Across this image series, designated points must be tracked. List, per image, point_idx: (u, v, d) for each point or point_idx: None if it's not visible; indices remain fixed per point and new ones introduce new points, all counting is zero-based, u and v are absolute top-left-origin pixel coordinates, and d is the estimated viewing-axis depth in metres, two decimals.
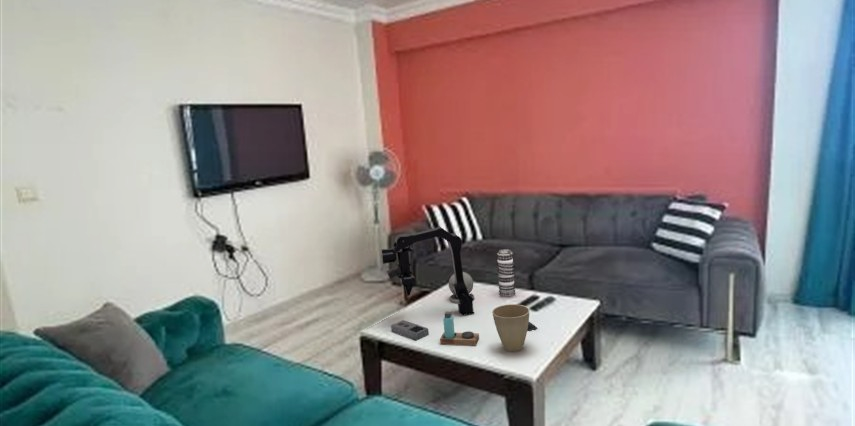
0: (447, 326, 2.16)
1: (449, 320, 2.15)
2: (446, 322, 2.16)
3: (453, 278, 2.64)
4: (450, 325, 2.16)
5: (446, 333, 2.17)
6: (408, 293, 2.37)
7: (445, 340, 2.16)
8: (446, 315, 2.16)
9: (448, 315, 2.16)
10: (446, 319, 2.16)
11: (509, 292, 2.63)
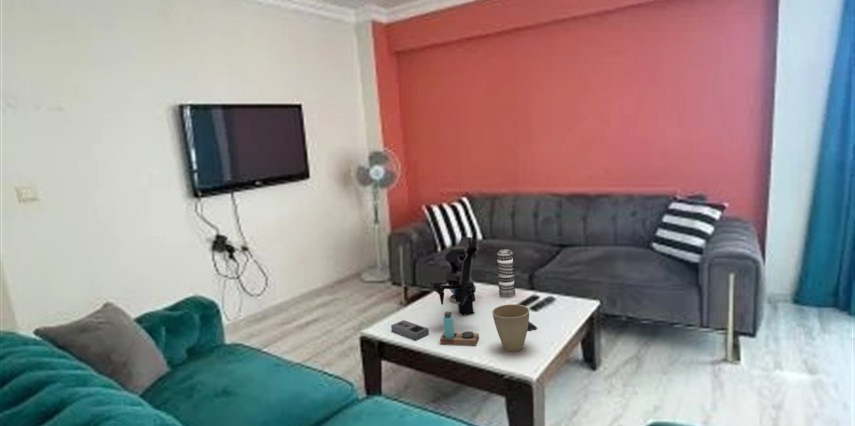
0: (447, 326, 2.16)
1: (449, 320, 2.15)
2: (446, 322, 2.16)
3: None
4: (450, 325, 2.16)
5: (446, 333, 2.17)
6: (463, 302, 2.24)
7: (445, 340, 2.16)
8: (446, 315, 2.16)
9: (448, 315, 2.16)
10: (446, 319, 2.16)
11: (509, 292, 2.63)
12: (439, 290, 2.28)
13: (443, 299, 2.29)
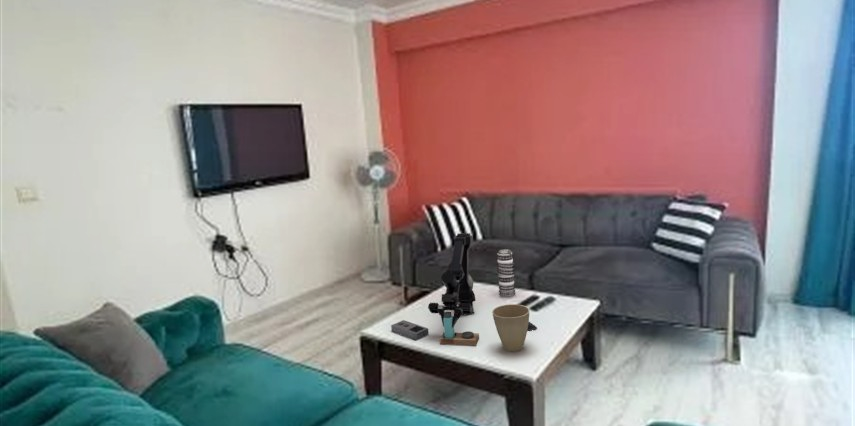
0: (447, 326, 2.16)
1: (449, 320, 2.15)
2: (446, 322, 2.16)
3: None
4: (450, 325, 2.16)
5: (446, 333, 2.17)
6: (454, 324, 2.16)
7: (445, 340, 2.16)
8: (446, 315, 2.16)
9: (448, 315, 2.16)
10: (446, 319, 2.16)
11: (509, 292, 2.63)
12: (441, 312, 2.19)
13: None
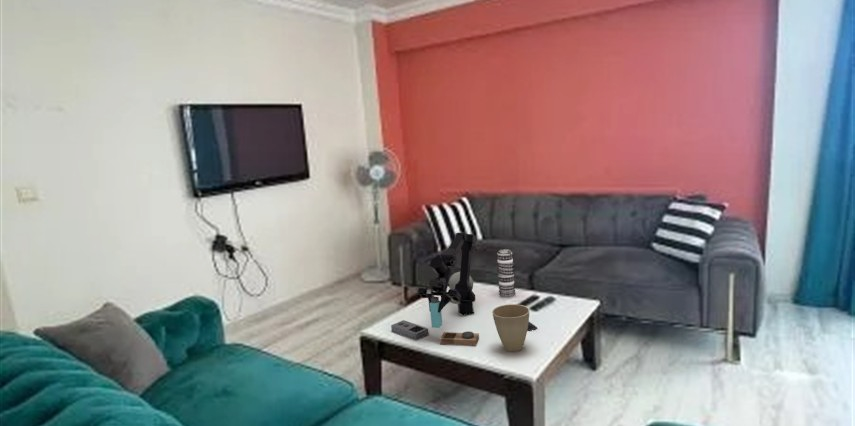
0: (433, 311, 2.17)
1: (435, 305, 2.16)
2: (433, 307, 2.17)
3: (453, 278, 2.64)
4: (436, 310, 2.17)
5: (432, 318, 2.18)
6: (440, 309, 2.17)
7: (445, 340, 2.16)
8: (432, 300, 2.17)
9: (434, 300, 2.17)
10: (432, 304, 2.17)
11: (509, 292, 2.63)
12: (429, 296, 2.20)
13: None
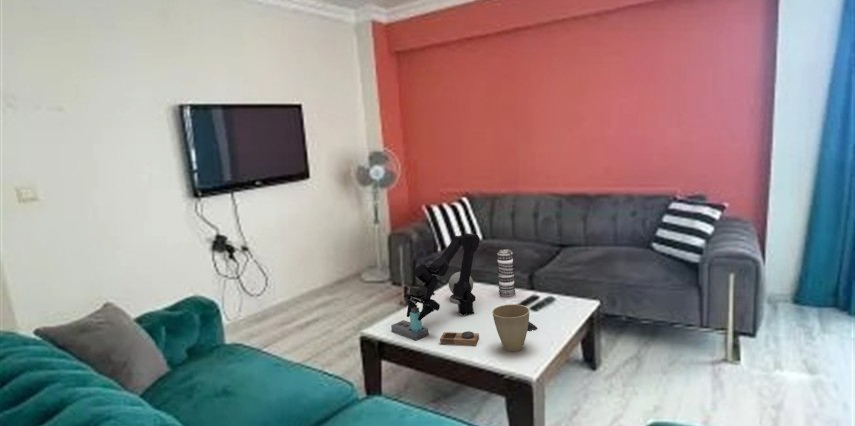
0: (412, 320, 2.26)
1: (413, 315, 2.24)
2: (412, 317, 2.25)
3: (453, 278, 2.64)
4: (414, 320, 2.25)
5: (412, 327, 2.27)
6: (420, 318, 2.23)
7: (445, 340, 2.16)
8: (412, 310, 2.25)
9: (413, 310, 2.25)
10: (411, 313, 2.25)
11: (509, 292, 2.63)
12: (408, 302, 2.30)
13: None
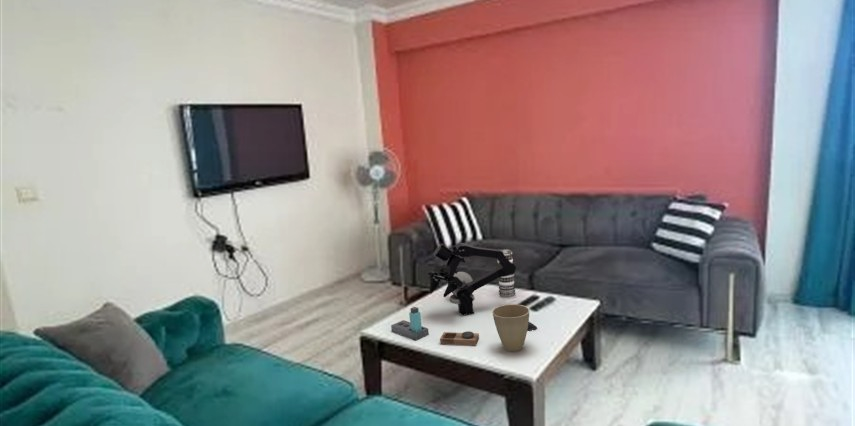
0: (412, 321, 2.26)
1: (413, 315, 2.24)
2: (411, 317, 2.25)
3: None
4: (414, 320, 2.25)
5: (411, 327, 2.27)
6: (445, 294, 2.35)
7: (445, 340, 2.16)
8: (411, 310, 2.25)
9: (413, 310, 2.25)
10: (411, 313, 2.25)
11: (509, 292, 2.63)
12: (431, 280, 2.44)
13: (434, 289, 2.44)
